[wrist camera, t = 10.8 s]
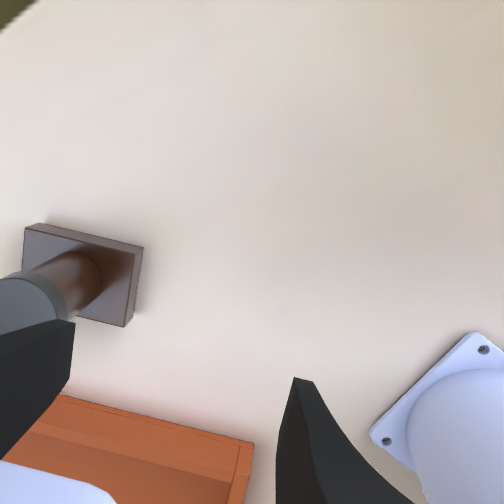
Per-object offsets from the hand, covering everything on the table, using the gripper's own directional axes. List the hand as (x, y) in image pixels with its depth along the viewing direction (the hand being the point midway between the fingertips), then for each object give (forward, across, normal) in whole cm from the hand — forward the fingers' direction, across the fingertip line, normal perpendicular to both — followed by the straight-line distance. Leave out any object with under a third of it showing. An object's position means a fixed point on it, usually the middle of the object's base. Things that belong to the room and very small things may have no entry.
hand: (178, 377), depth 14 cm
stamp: (+9, +7, +1) cm, 12 cm away
